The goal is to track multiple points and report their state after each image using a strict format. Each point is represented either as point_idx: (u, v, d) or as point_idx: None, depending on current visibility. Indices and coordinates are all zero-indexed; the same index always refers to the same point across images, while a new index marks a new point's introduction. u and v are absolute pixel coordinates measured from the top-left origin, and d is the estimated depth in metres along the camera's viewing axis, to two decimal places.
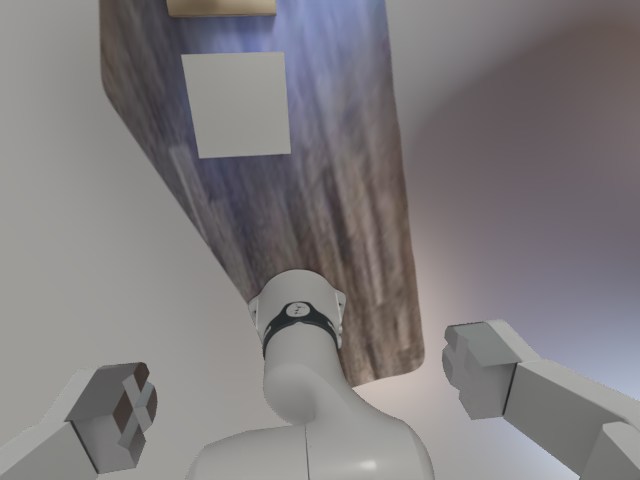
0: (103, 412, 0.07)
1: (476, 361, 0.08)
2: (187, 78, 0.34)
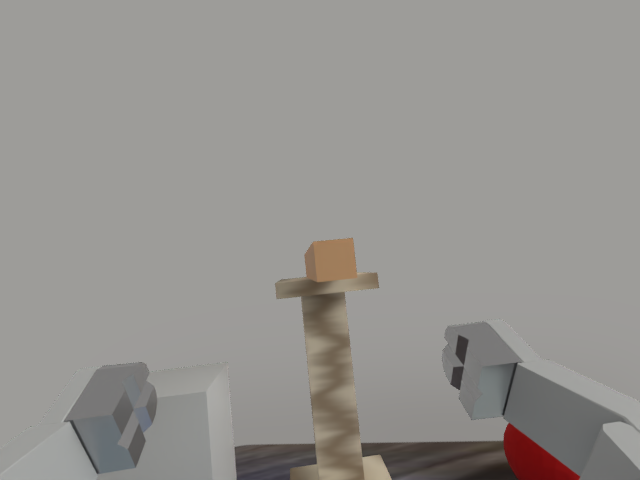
0: (103, 412, 0.07)
1: (476, 361, 0.08)
2: (209, 364, 0.40)
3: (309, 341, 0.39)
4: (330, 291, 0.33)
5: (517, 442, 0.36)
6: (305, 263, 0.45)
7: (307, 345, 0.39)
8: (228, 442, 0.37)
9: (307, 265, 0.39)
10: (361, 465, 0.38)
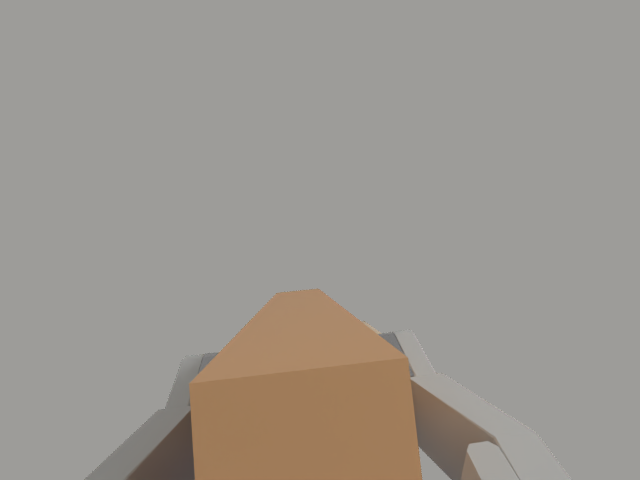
0: None
1: None
2: None
3: None
4: None
5: None
6: None
7: None
8: None
9: None
10: None
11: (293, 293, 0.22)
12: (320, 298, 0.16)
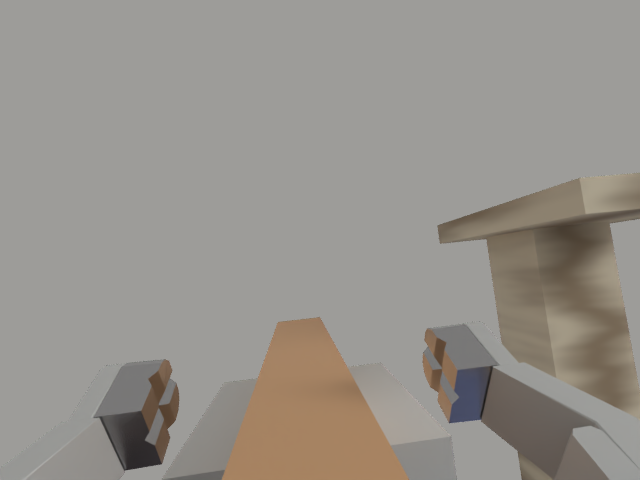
0: (131, 408, 0.07)
1: (452, 364, 0.08)
2: (349, 367, 0.22)
3: (554, 322, 0.20)
4: None
5: None
6: None
7: (550, 330, 0.20)
8: None
9: None
10: None
11: (295, 325, 0.22)
12: (323, 342, 0.16)
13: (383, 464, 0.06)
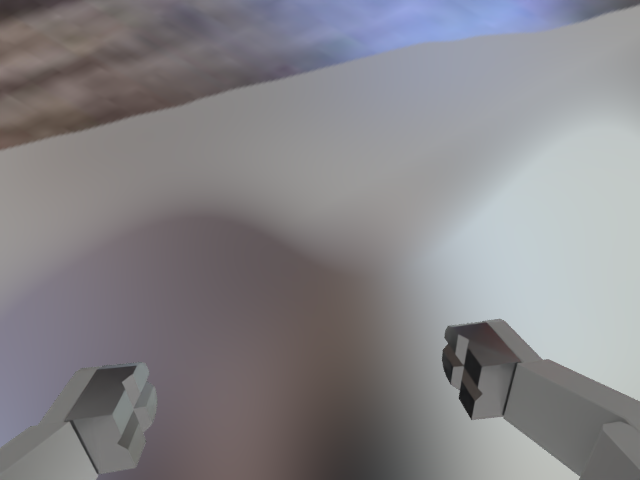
0: (103, 412, 0.07)
1: (476, 361, 0.08)
2: None
3: None
4: None
5: None
6: None
7: None
8: None
9: None
10: None
11: None
12: None
13: None
